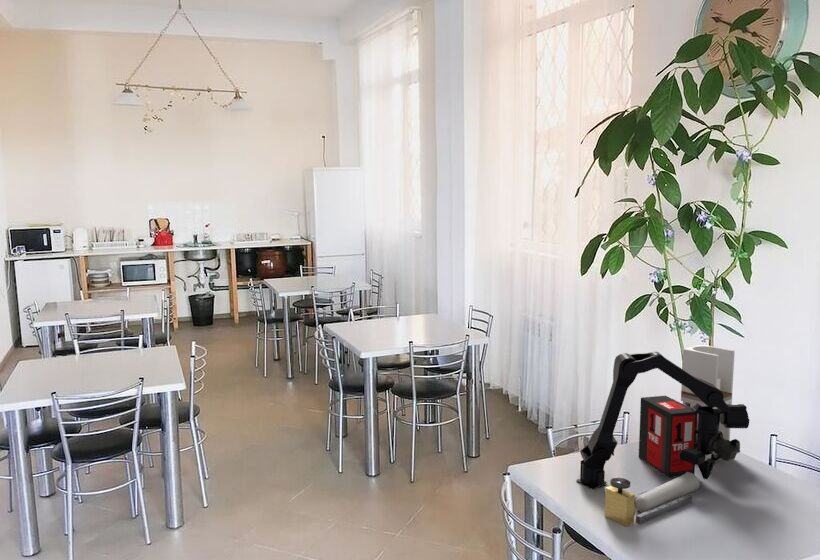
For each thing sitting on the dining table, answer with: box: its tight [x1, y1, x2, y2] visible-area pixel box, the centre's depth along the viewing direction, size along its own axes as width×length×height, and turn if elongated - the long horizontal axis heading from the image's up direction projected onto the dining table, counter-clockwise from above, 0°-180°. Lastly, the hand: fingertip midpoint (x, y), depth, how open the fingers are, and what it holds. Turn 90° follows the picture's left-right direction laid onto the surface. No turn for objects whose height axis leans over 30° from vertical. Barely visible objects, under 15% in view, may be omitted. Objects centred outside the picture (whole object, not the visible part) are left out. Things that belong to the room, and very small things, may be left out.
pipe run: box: [604, 477, 693, 527], centre depth 189 cm, size 9×27×11 cm, turn 123°
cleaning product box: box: [638, 395, 697, 479], centre depth 218 cm, size 16×9×20 cm, turn 13°
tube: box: [635, 472, 700, 513], centre depth 195 cm, size 5×5×25 cm
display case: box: [680, 344, 735, 462], centre depth 226 cm, size 11×11×35 cm
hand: (705, 478), depth 204 cm, fingers closed
